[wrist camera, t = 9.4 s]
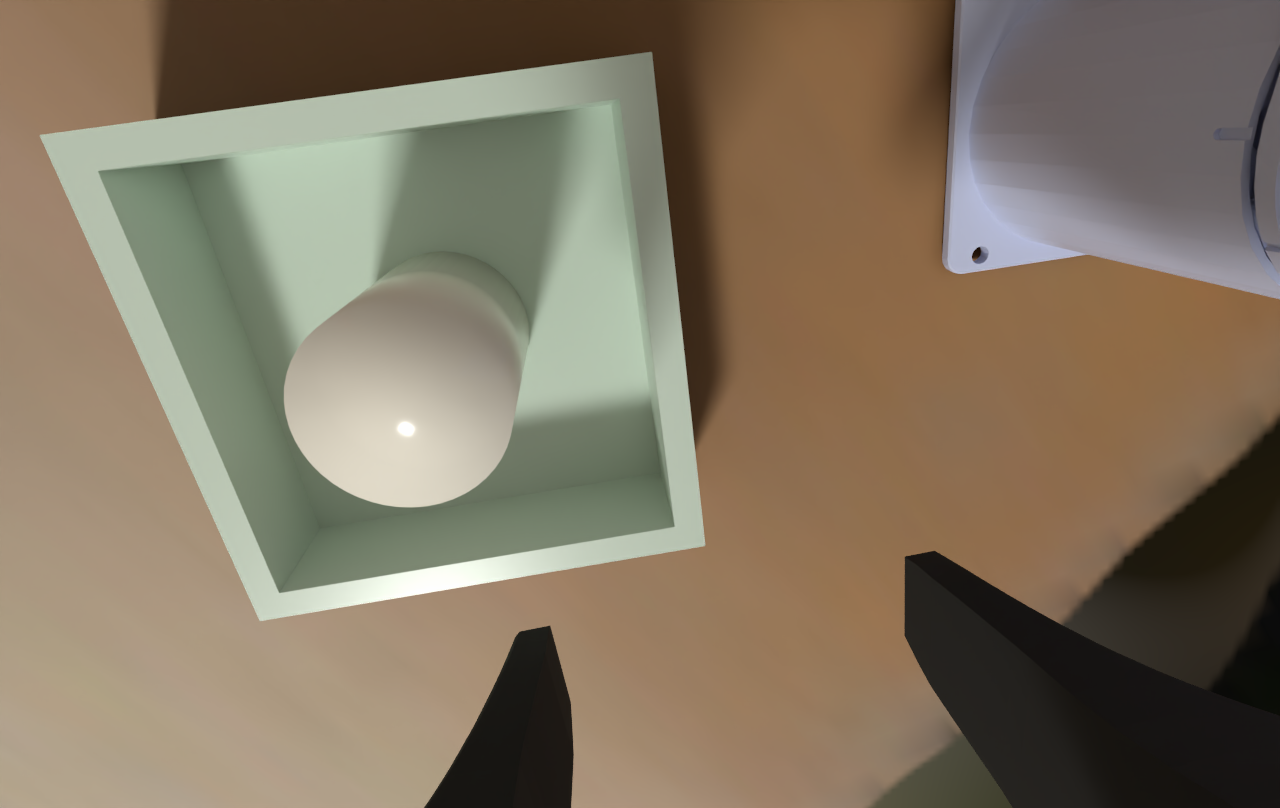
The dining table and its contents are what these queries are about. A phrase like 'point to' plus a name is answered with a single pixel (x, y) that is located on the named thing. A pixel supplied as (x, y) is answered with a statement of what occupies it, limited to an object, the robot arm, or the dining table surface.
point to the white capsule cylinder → (412, 382)
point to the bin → (362, 254)
